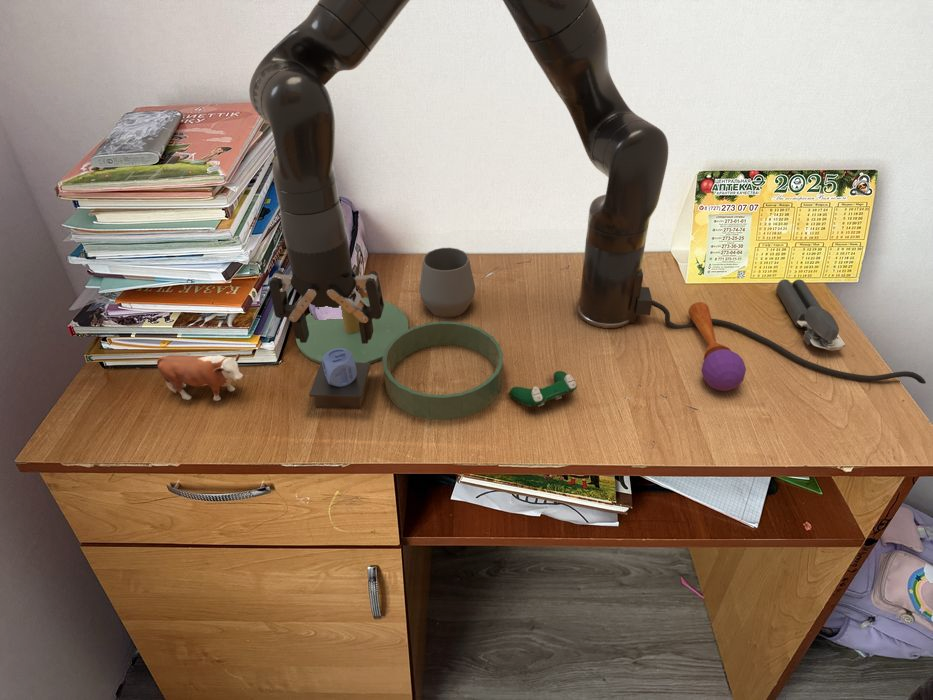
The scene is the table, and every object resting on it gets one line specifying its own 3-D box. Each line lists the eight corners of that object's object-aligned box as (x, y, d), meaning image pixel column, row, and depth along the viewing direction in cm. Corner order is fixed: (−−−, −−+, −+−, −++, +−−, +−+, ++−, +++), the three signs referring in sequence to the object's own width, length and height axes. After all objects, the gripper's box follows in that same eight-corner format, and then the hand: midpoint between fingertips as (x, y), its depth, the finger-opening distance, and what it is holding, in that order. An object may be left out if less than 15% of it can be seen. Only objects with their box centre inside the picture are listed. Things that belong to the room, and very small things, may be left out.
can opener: (844, 359, 104) (858, 326, 100) (811, 359, 104) (824, 326, 100) (801, 291, 119) (811, 260, 115) (771, 291, 119) (781, 260, 115)
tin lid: (415, 304, 118) (413, 274, 114) (401, 372, 103) (397, 340, 99) (312, 302, 119) (306, 272, 115) (283, 368, 104) (275, 337, 100)
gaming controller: (514, 414, 98) (531, 411, 92) (505, 389, 98) (522, 385, 93) (567, 394, 101) (586, 390, 96) (558, 370, 102) (577, 364, 96)
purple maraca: (722, 298, 110) (757, 369, 94) (709, 328, 114) (740, 402, 97) (687, 291, 110) (716, 361, 94) (674, 322, 114) (700, 394, 97)
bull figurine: (247, 412, 97) (234, 369, 92) (163, 400, 99) (145, 357, 94) (260, 392, 100) (249, 349, 95) (178, 381, 102) (163, 339, 97)
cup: (464, 289, 121) (463, 240, 115) (483, 317, 114) (483, 267, 108) (413, 300, 118) (410, 251, 112) (430, 330, 112) (427, 279, 105)
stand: (375, 379, 102) (372, 361, 100) (365, 416, 96) (362, 397, 94) (323, 377, 102) (319, 359, 100) (310, 414, 96) (306, 396, 94)
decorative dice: (331, 390, 95) (327, 368, 92) (324, 373, 98) (319, 352, 95) (358, 382, 96) (355, 360, 94) (350, 366, 99) (347, 344, 97)
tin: (503, 347, 108) (504, 322, 105) (501, 424, 94) (501, 399, 91) (394, 344, 109) (392, 320, 106) (376, 420, 95) (373, 395, 92)
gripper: (378, 221, 85) (390, 324, 95) (267, 220, 86) (291, 322, 96) (367, 251, 79) (382, 357, 89) (249, 250, 80) (277, 356, 90)
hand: (335, 339), depth 93 cm, fingers open, 8 cm apart
